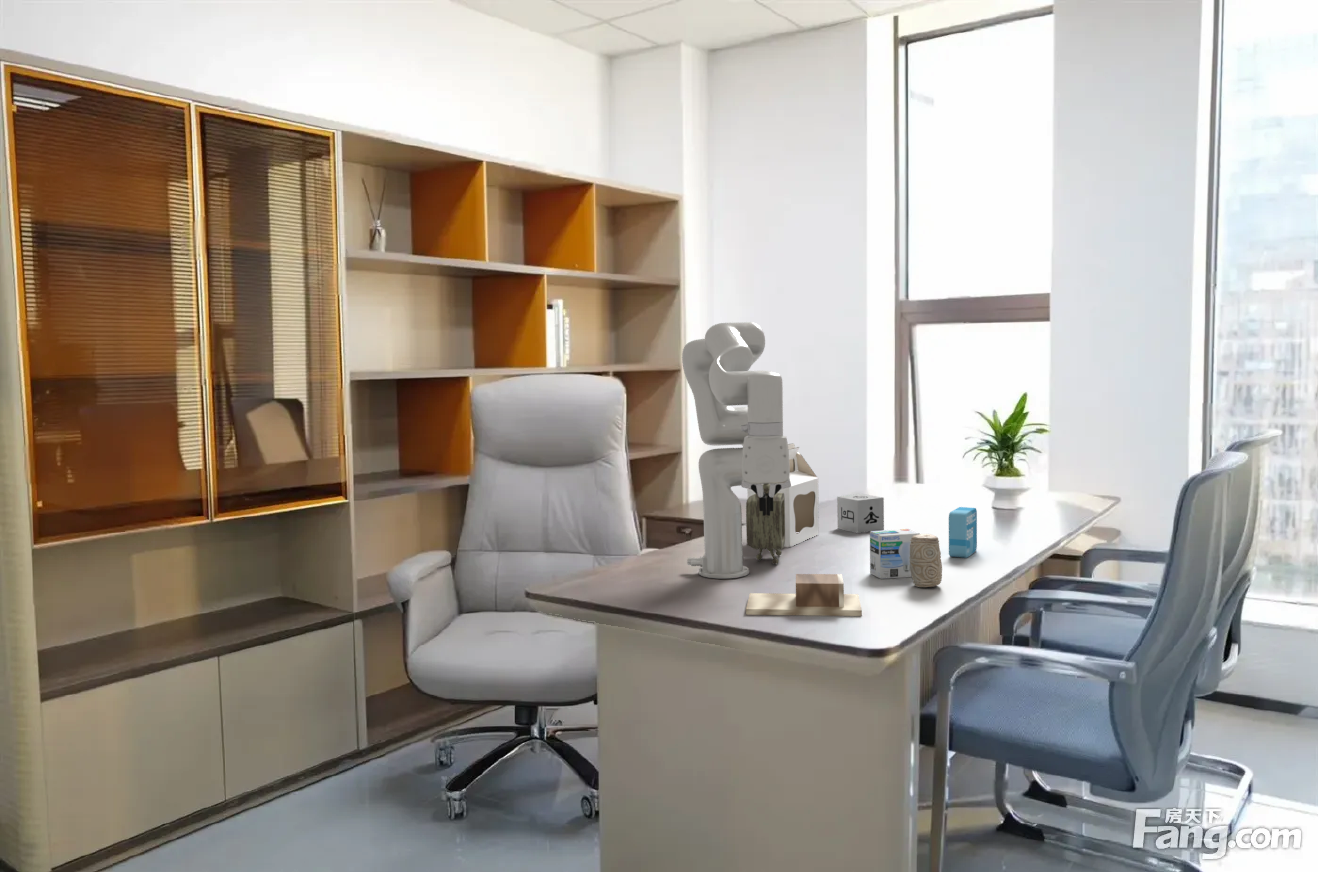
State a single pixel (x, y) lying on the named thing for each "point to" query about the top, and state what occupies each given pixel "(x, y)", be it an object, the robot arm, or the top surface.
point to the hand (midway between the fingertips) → (766, 514)
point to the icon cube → (860, 513)
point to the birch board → (787, 606)
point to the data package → (962, 532)
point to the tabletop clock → (766, 524)
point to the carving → (925, 560)
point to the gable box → (799, 500)
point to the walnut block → (819, 590)
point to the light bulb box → (890, 553)
